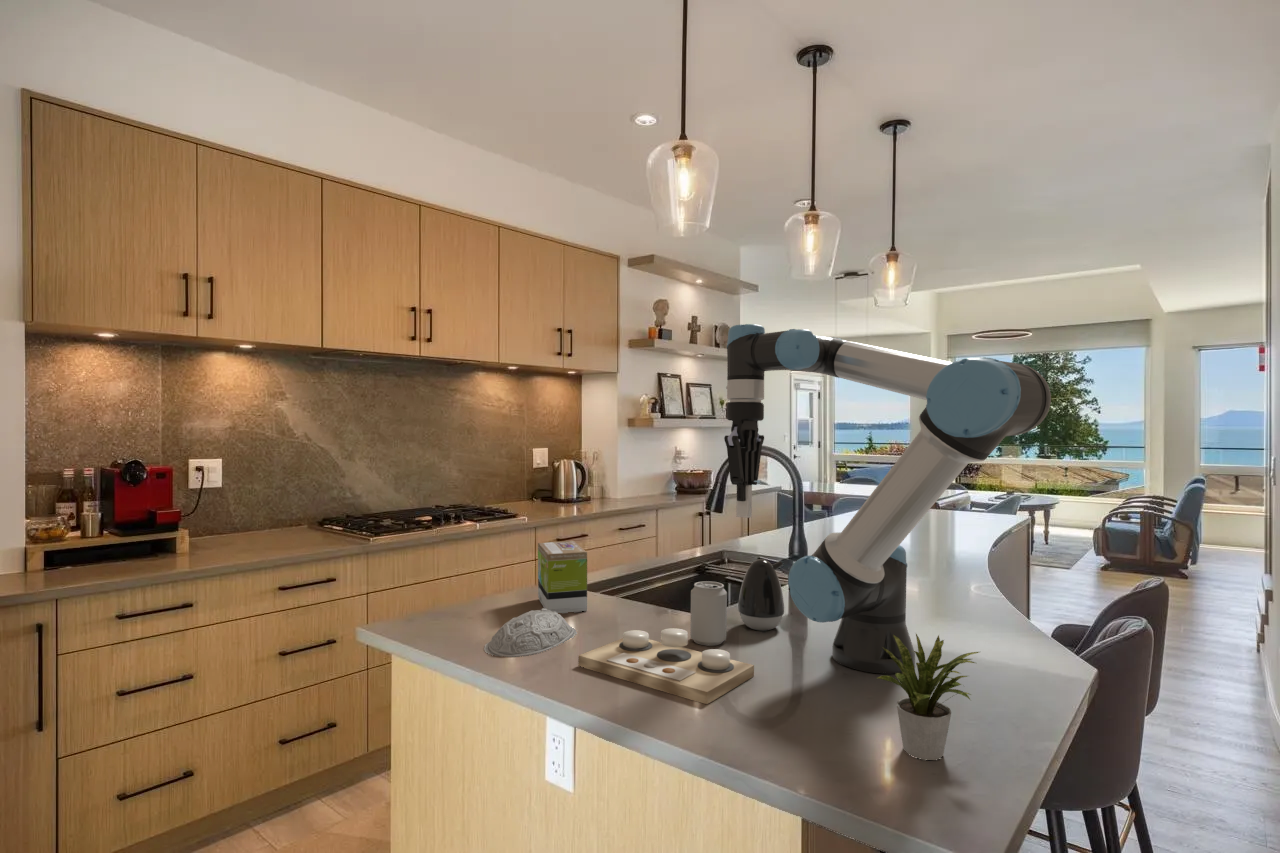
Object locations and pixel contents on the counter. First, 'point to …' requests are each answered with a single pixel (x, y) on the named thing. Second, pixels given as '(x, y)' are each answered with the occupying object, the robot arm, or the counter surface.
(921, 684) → the house plant
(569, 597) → the tea box
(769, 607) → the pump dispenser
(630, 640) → the button
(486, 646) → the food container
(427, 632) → the counter surface
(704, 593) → the can
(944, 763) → the counter surface
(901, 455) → the robot arm
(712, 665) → the button
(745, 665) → the button board
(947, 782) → the counter surface
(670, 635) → the button
